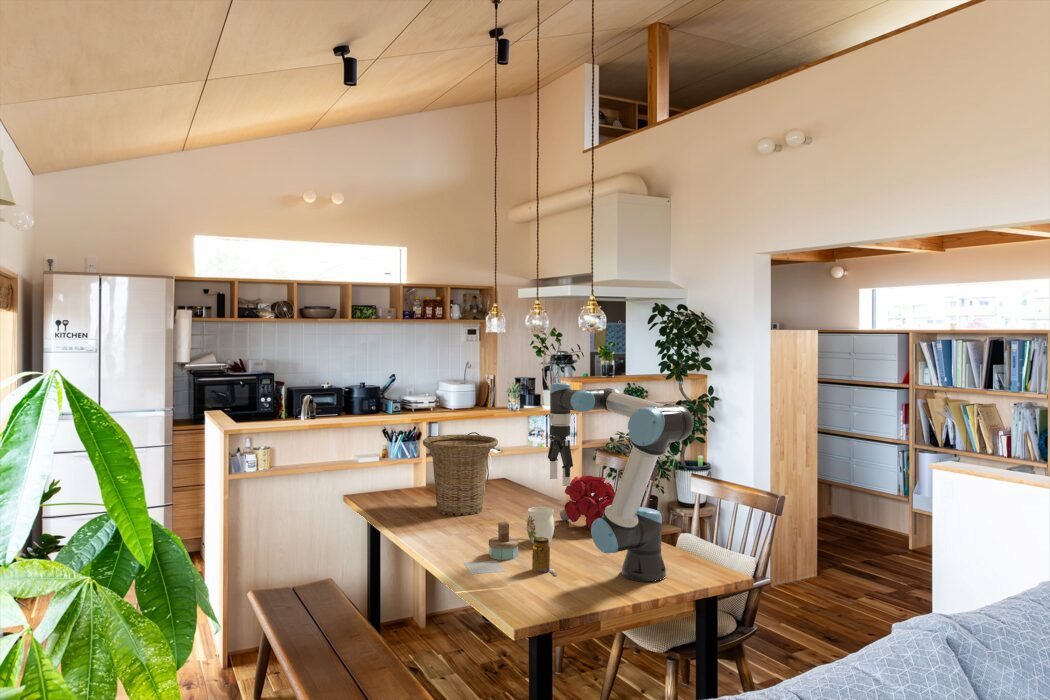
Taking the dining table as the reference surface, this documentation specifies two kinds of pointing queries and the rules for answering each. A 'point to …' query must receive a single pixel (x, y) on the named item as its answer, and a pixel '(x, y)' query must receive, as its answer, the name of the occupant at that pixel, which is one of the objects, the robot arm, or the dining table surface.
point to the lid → (503, 538)
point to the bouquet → (587, 499)
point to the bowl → (503, 553)
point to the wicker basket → (460, 471)
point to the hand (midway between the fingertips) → (559, 482)
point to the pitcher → (540, 523)
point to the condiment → (541, 556)
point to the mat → (484, 567)
